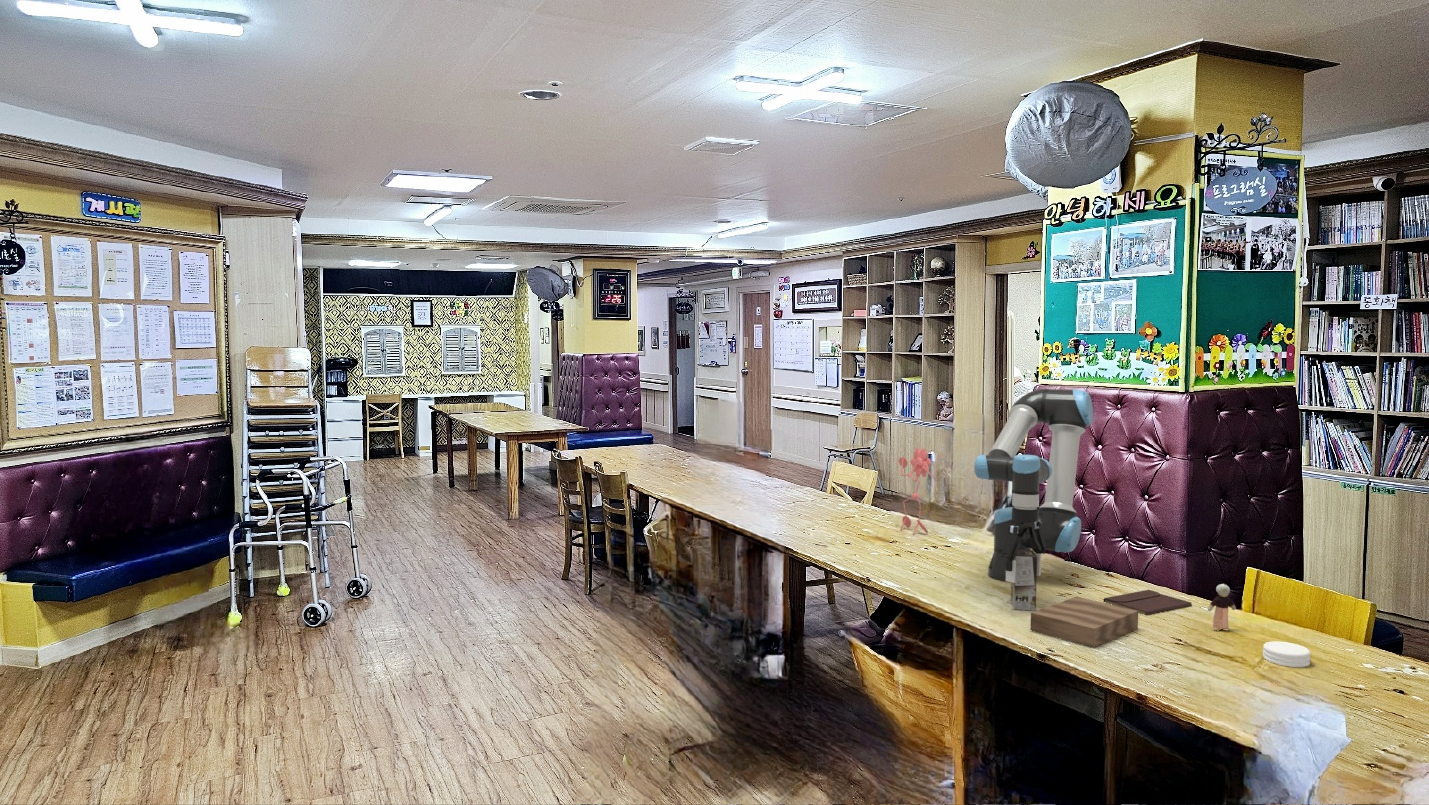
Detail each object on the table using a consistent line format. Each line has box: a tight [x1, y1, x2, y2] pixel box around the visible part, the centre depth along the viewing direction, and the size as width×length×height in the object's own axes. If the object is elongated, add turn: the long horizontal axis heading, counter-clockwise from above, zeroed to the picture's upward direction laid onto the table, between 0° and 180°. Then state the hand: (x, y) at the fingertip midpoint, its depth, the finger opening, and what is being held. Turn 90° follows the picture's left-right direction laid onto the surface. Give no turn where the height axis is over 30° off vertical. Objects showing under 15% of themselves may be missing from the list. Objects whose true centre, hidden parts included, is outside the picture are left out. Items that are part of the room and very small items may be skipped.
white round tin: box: [1262, 640, 1312, 668], centre depth 224 cm, size 10×10×4 cm
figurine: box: [898, 446, 938, 536], centre depth 373 cm, size 15×26×35 cm, turn 22°
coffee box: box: [1010, 549, 1038, 612], centre depth 269 cm, size 9×6×16 cm
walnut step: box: [1029, 596, 1139, 649], centre depth 247 cm, size 24×18×5 cm
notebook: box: [1103, 589, 1193, 617], centre depth 271 cm, size 15×20×2 cm
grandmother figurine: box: [1207, 583, 1237, 631], centre depth 247 cm, size 8×4×13 cm, turn 105°
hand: (1023, 578), depth 269 cm, fingers open, 13 cm apart
